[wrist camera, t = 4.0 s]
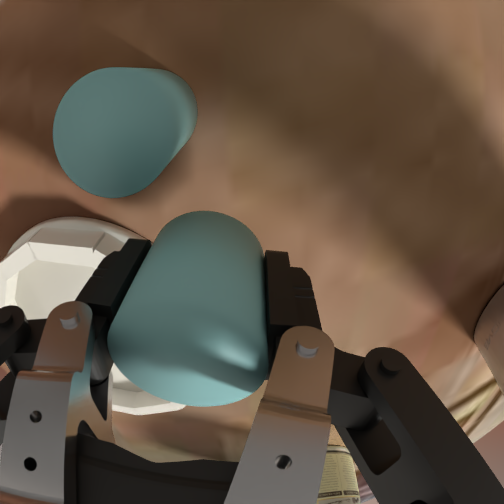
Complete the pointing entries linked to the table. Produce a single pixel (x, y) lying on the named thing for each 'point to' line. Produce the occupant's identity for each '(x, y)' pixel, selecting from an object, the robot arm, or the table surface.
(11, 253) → the ring tray
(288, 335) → the robot arm
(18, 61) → the table surface
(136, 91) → the bead
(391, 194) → the table surface
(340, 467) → the coffee can
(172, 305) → the bead
